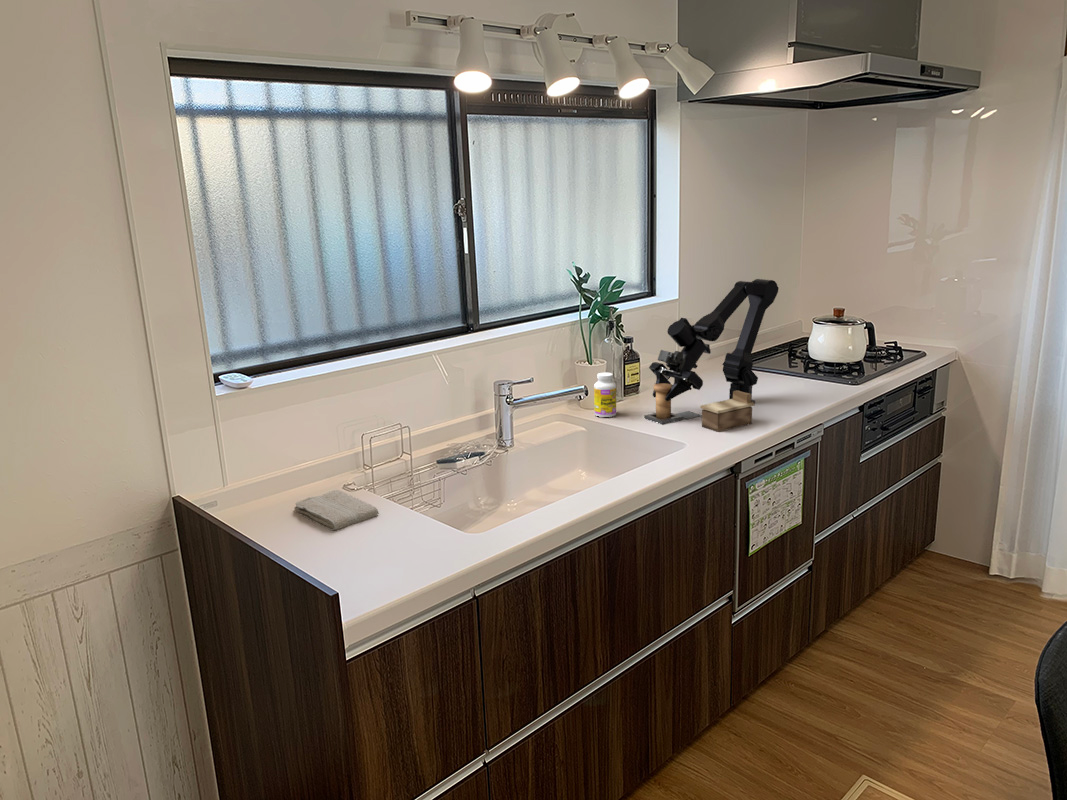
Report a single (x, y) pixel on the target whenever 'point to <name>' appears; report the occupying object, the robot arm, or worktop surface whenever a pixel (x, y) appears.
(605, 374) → the supplement bottle
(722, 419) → the toolbox
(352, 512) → the washcloth
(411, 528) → the worktop surface
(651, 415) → the keeper
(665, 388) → the key peg
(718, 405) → the lid
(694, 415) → the felt pad
